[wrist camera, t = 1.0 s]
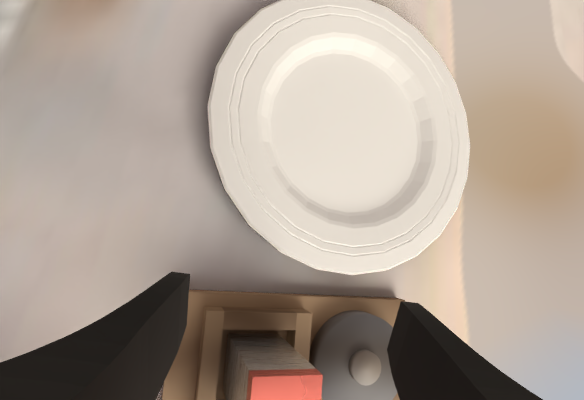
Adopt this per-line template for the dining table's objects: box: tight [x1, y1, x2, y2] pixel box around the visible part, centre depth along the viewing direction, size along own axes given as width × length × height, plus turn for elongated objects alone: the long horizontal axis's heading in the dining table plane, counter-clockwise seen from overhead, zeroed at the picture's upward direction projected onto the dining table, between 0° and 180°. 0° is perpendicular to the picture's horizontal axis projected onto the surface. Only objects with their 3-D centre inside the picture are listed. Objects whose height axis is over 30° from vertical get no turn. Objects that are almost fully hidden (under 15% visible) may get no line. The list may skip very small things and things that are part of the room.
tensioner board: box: [162, 290, 405, 400], centre depth 23 cm, size 8×16×3 cm, turn 85°
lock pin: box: [223, 334, 323, 400], centre depth 19 cm, size 3×3×7 cm
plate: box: [207, 0, 470, 275], centre depth 26 cm, size 21×21×2 cm
